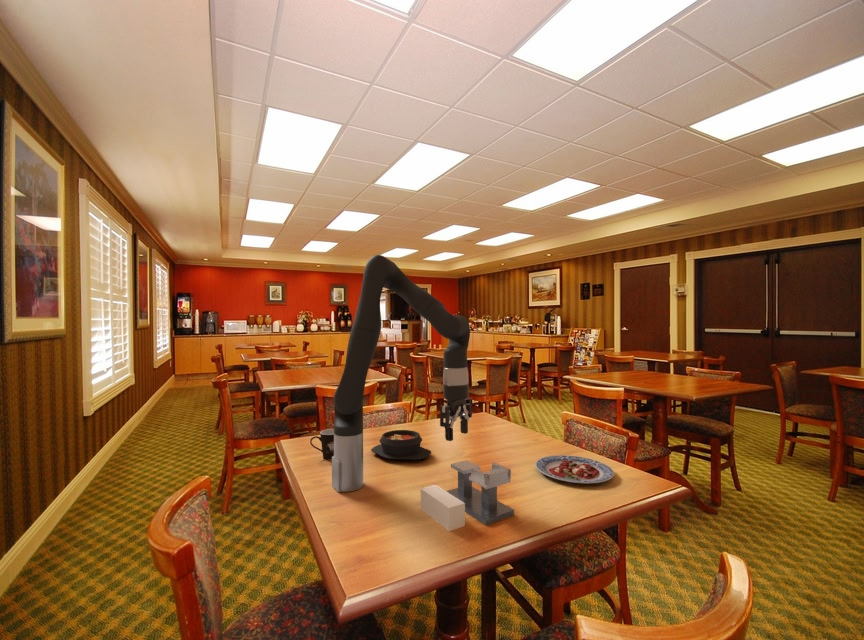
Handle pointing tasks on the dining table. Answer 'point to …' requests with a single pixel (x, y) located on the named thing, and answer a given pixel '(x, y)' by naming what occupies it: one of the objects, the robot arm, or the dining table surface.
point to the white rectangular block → (443, 507)
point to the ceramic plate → (574, 469)
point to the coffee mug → (326, 443)
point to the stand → (482, 491)
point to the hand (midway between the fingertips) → (457, 436)
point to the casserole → (401, 446)
